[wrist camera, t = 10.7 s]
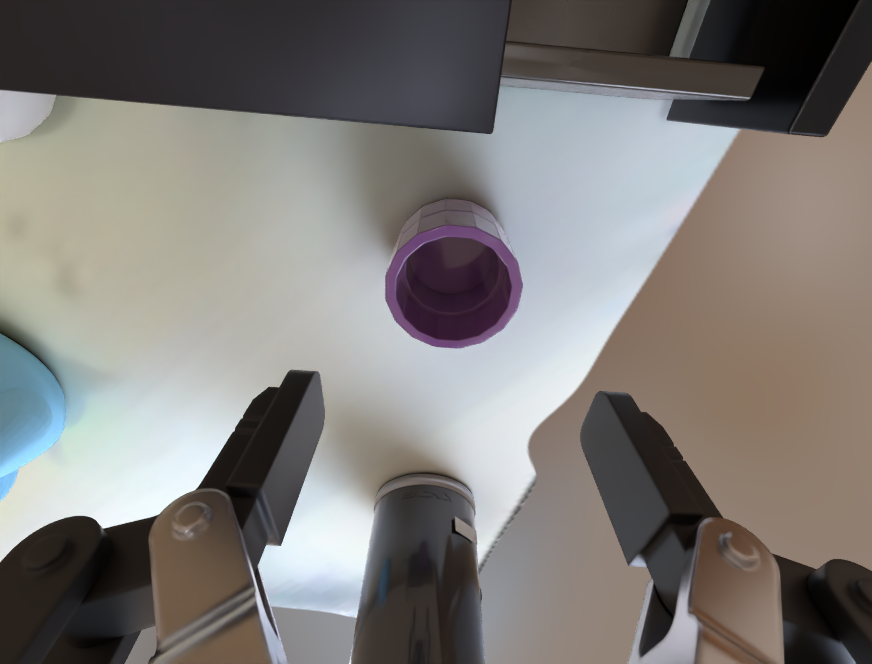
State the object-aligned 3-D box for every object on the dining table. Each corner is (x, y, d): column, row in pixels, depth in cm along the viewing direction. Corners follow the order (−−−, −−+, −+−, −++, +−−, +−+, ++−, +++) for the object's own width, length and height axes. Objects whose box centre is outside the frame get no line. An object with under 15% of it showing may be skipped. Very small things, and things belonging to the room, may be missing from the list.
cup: (495, 304, 22) (507, 352, 18) (396, 296, 22) (385, 343, 18) (515, 201, 19) (536, 231, 15) (398, 191, 19) (385, 219, 15)
